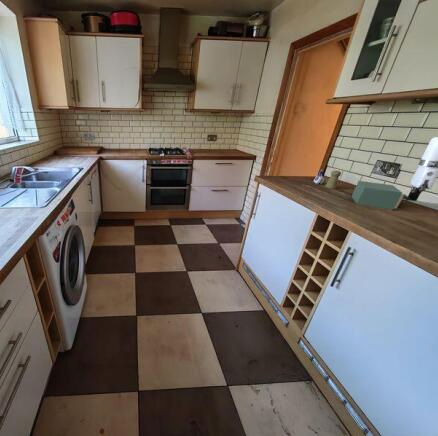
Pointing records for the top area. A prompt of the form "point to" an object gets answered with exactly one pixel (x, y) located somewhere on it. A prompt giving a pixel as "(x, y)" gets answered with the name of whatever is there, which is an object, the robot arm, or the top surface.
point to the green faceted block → (376, 195)
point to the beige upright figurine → (333, 179)
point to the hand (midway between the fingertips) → (411, 199)
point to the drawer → (400, 199)
